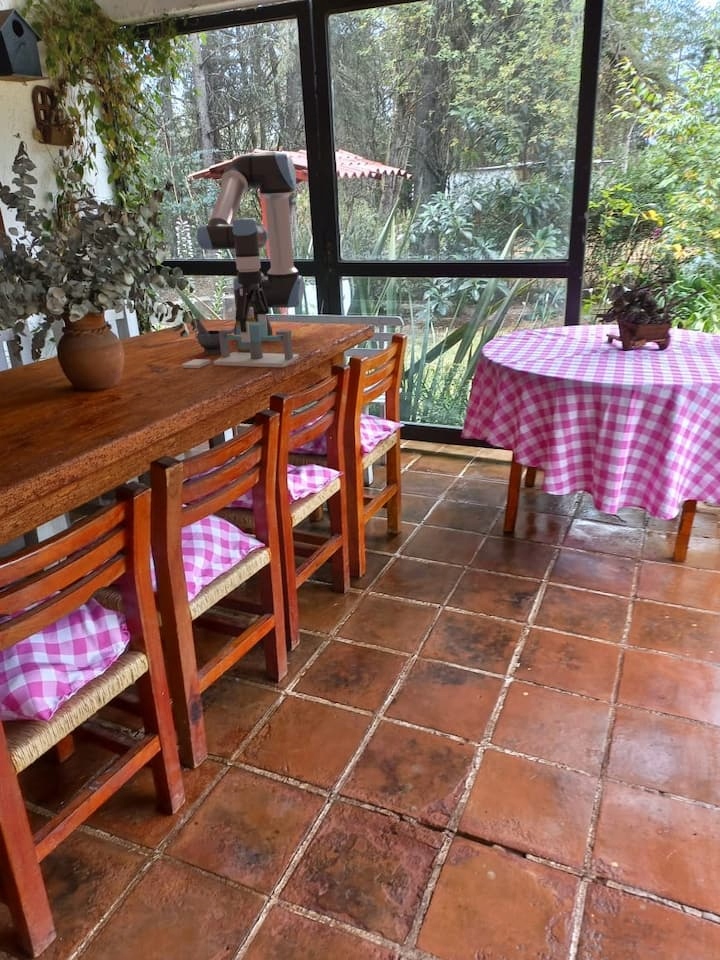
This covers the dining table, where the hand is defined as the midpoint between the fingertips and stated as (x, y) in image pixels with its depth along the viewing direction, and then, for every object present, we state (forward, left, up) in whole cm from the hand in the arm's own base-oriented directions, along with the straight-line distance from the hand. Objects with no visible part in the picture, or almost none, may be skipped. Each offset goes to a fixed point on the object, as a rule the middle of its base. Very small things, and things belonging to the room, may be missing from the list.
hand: (254, 338), depth 227 cm
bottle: (-15, -10, -8) cm, 19 cm away
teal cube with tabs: (0, 0, -1) cm, 1 cm away
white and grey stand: (0, 0, -8) cm, 8 cm away
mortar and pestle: (-12, -23, -8) cm, 27 cm away
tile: (+8, -18, -8) cm, 21 cm away
